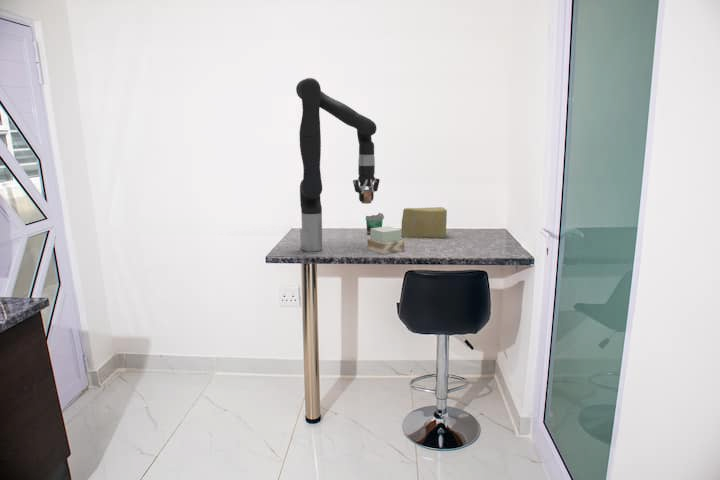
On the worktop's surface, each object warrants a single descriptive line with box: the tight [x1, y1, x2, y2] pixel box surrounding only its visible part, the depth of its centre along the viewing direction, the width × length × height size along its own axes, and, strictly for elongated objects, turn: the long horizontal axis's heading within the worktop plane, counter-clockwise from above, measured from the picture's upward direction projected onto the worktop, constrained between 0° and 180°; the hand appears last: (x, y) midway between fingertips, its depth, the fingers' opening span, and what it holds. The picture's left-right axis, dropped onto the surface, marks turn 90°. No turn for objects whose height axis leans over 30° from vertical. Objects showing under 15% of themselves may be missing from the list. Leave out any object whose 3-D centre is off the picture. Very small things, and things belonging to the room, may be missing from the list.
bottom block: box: [367, 238, 405, 255], centre depth 233 cm, size 12×12×5 cm
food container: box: [365, 212, 385, 235], centre depth 267 cm, size 12×6×10 cm, turn 143°
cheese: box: [401, 206, 448, 239], centre depth 258 cm, size 22×10×15 cm, turn 94°
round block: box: [360, 188, 372, 205], centre depth 238 cm, size 5×5×6 cm
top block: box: [369, 225, 402, 243], centre depth 232 cm, size 10×10×5 cm
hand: (366, 200), depth 238 cm, fingers closed on round block, 4 cm apart
